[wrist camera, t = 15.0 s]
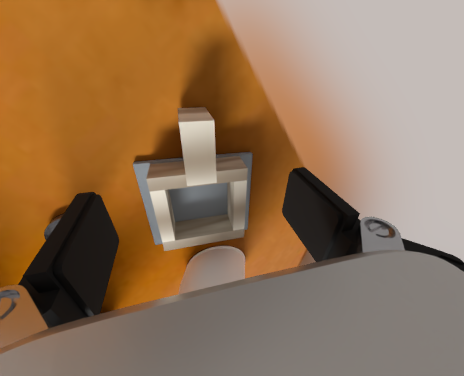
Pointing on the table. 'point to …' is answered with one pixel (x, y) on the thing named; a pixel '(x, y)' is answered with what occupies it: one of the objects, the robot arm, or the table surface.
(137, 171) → the mat
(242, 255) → the spray can
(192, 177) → the cream square frame
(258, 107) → the table surface
